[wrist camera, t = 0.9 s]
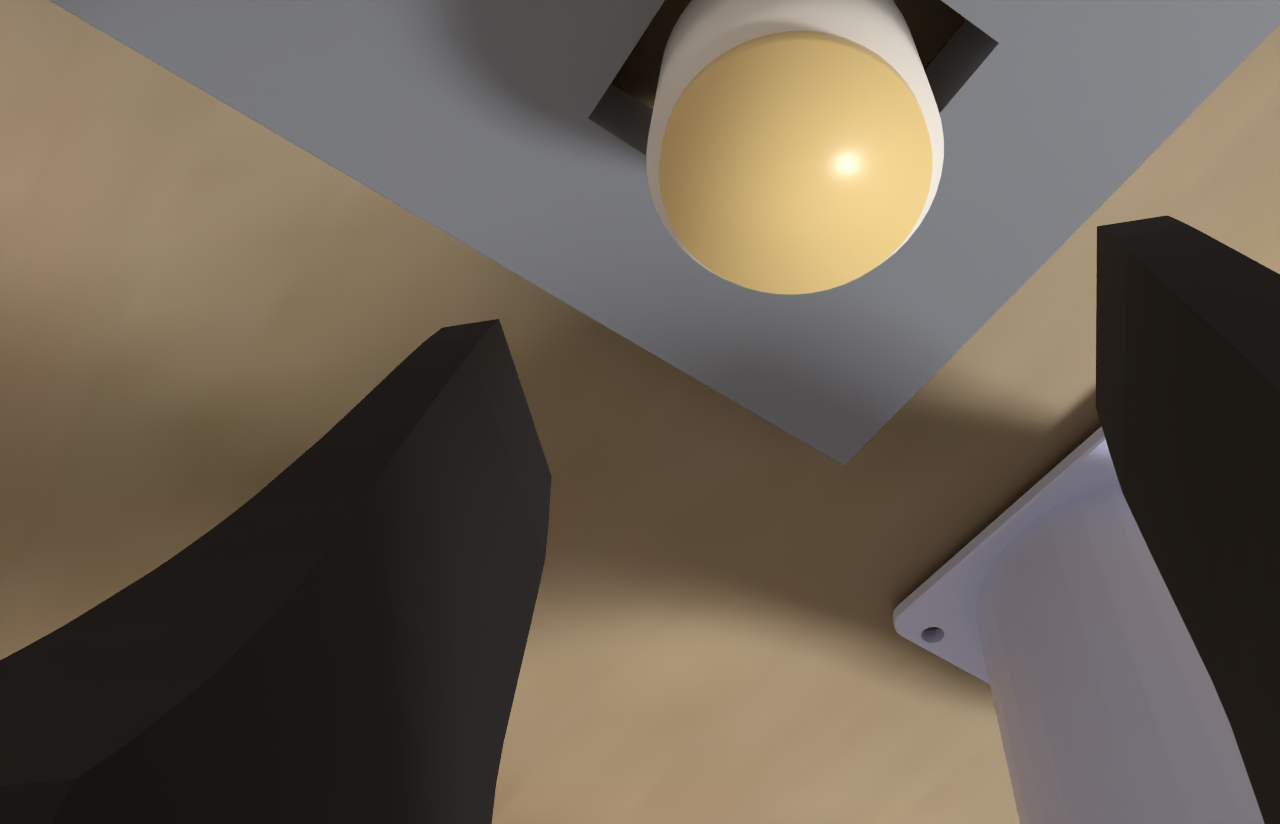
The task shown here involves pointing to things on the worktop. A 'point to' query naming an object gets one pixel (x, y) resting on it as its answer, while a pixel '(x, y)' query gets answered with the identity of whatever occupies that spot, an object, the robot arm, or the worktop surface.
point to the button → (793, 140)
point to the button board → (617, 174)
